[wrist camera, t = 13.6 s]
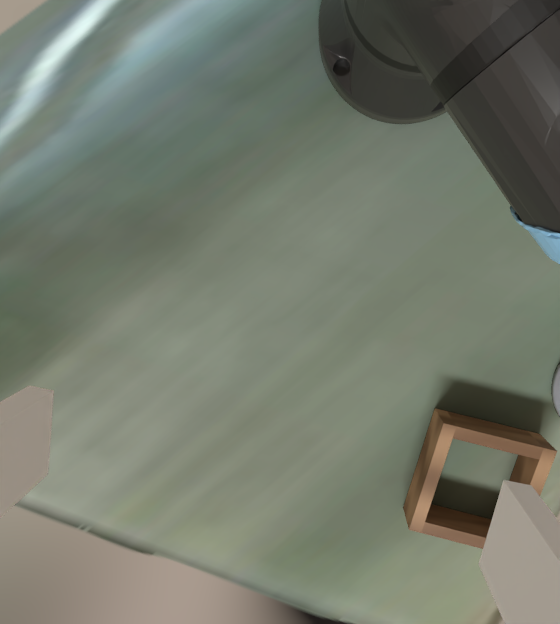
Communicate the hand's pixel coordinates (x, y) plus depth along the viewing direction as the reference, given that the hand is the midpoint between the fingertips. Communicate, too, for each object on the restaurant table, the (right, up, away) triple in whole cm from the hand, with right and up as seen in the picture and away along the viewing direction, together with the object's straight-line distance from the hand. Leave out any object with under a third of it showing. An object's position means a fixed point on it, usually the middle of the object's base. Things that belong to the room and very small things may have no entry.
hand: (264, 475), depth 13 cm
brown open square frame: (+20, -11, +34) cm, 41 cm away
